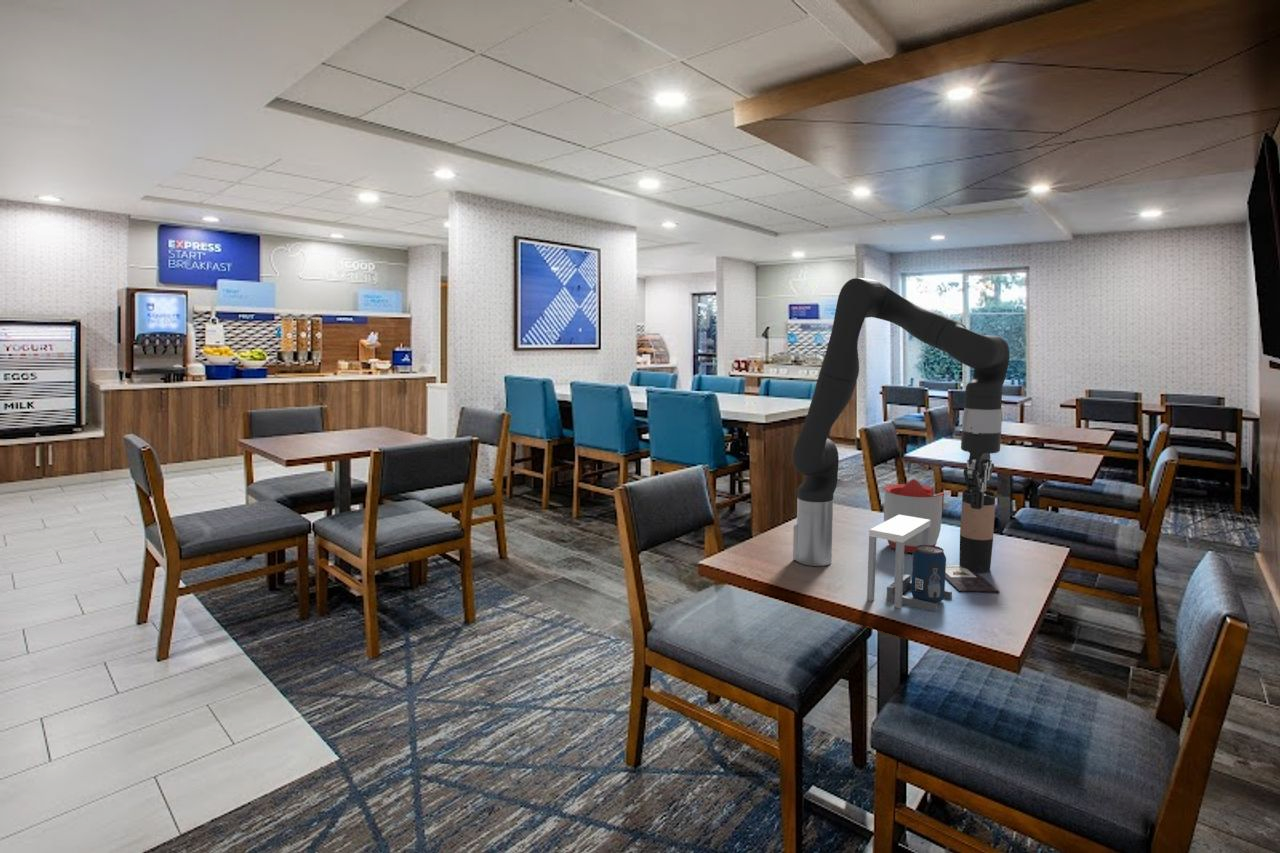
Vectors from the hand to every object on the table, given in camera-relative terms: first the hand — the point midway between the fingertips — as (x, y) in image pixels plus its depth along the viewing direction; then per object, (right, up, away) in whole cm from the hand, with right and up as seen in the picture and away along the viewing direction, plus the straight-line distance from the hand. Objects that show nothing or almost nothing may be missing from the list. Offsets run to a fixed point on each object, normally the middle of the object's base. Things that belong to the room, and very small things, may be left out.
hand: (976, 508), depth 144 cm
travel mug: (+13, -19, +27) cm, 36 cm away
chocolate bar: (+7, -21, +20) cm, 29 cm away
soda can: (-8, -22, +7) cm, 24 cm away
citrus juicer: (+5, -17, +45) cm, 48 cm away
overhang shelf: (-11, -21, +9) cm, 25 cm away
